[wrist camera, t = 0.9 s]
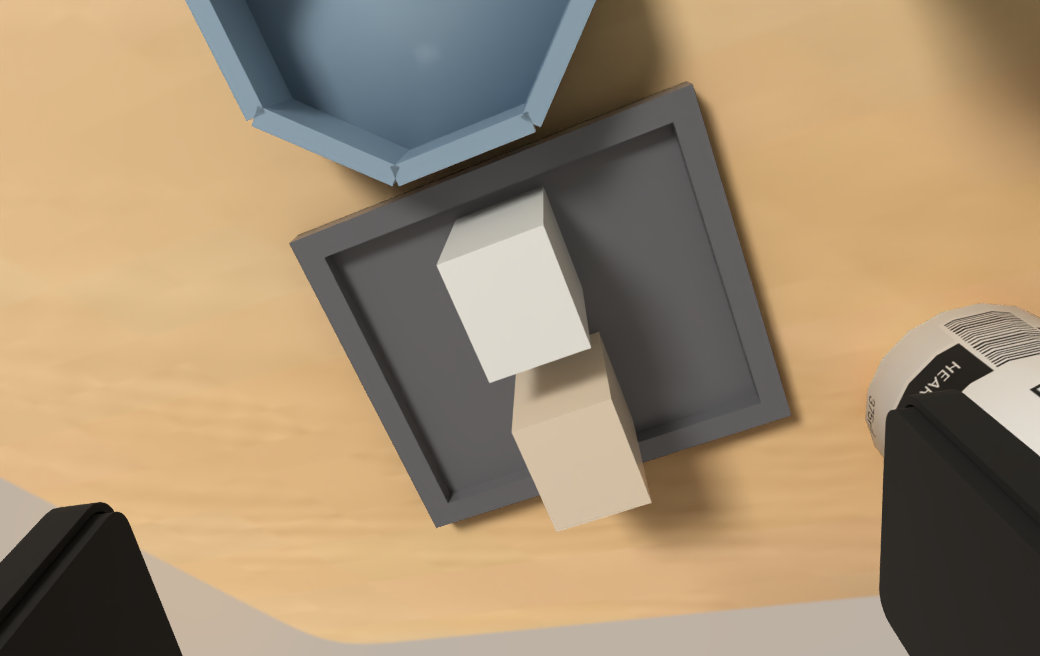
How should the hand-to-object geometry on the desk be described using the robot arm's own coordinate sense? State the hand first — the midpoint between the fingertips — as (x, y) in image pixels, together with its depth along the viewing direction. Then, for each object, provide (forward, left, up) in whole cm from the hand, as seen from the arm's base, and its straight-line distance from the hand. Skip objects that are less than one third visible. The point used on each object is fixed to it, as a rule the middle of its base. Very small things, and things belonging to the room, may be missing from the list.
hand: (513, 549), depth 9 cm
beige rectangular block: (+1, +9, -21) cm, 23 cm away
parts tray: (+1, +5, -22) cm, 22 cm away
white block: (+1, +2, -21) cm, 22 cm away
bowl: (+1, -9, -22) cm, 23 cm away
